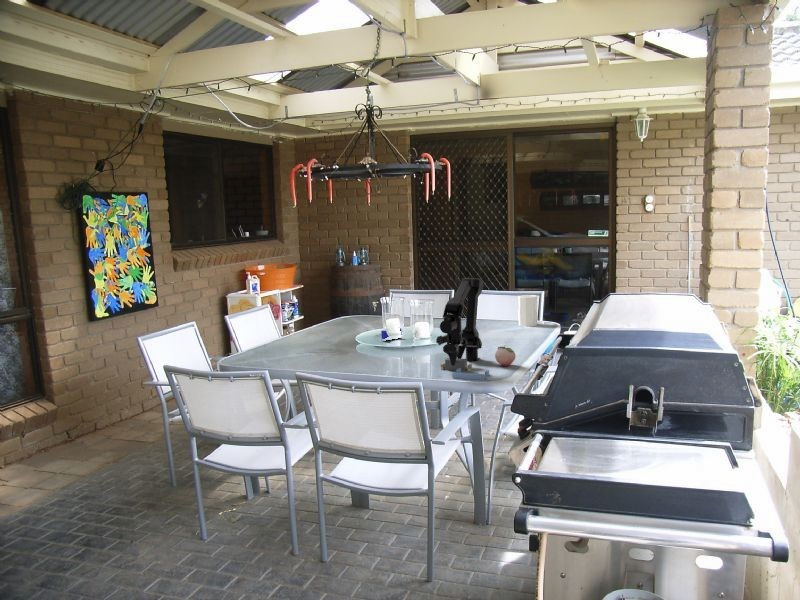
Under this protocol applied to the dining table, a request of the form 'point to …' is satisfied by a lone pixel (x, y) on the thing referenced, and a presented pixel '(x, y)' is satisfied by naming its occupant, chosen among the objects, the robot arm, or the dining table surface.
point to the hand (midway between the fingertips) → (456, 363)
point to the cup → (527, 310)
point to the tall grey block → (456, 364)
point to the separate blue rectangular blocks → (469, 375)
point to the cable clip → (384, 334)
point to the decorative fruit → (505, 356)
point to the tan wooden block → (467, 366)
